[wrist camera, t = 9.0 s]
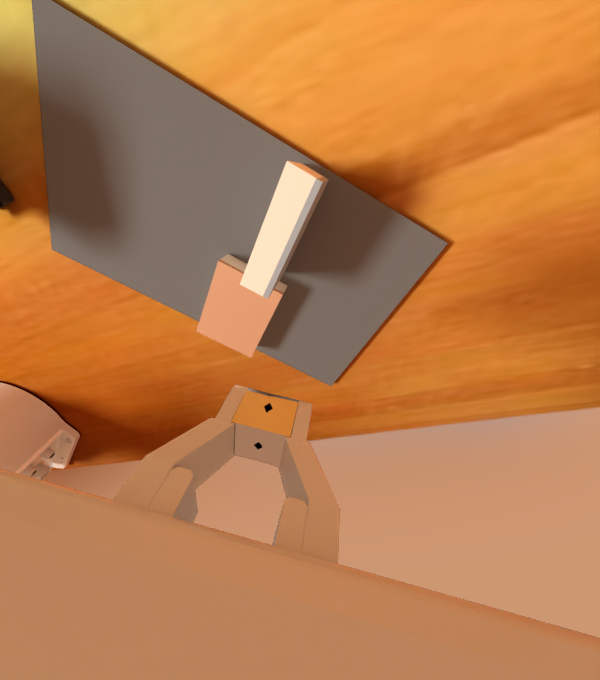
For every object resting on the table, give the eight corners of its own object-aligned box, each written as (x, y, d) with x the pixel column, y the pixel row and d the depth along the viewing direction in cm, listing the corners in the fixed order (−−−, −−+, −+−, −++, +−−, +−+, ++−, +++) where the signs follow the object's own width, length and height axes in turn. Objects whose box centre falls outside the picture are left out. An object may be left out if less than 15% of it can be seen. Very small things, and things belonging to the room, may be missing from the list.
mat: (331, 382, 31) (331, 386, 30) (57, 247, 26) (51, 249, 26) (445, 241, 21) (447, 243, 20) (40, -7, 17) (30, -13, 16)
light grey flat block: (284, 272, 24) (267, 299, 19) (262, 260, 23) (239, 284, 18) (328, 179, 19) (322, 182, 14) (302, 163, 19) (286, 160, 14)
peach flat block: (251, 357, 27) (196, 331, 26) (257, 346, 29) (206, 320, 28) (282, 294, 22) (218, 260, 22) (287, 285, 24) (228, 253, 23)
